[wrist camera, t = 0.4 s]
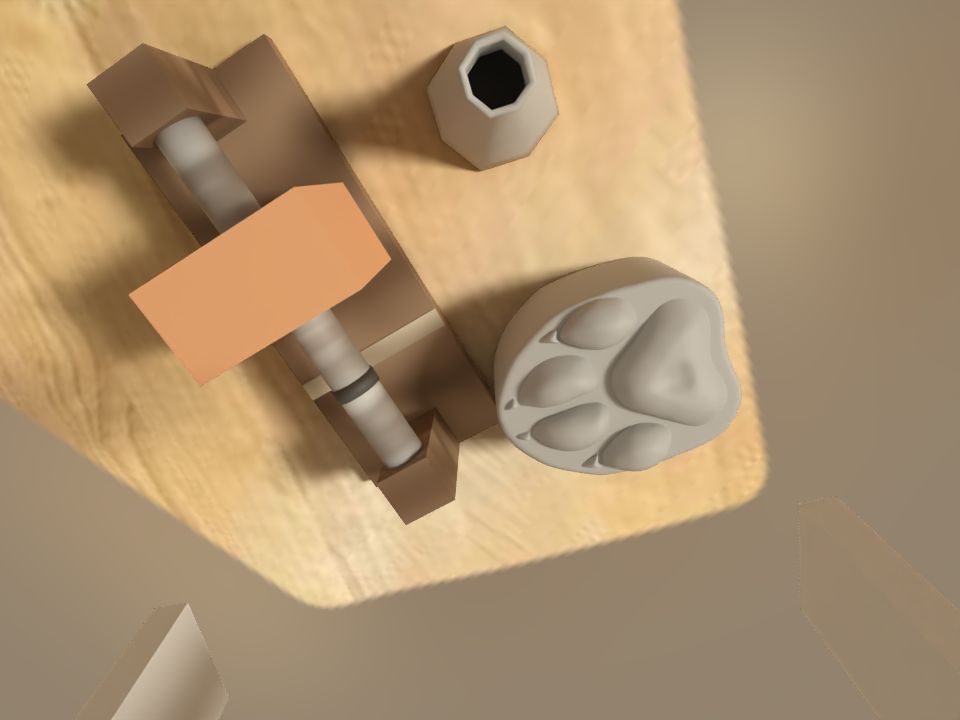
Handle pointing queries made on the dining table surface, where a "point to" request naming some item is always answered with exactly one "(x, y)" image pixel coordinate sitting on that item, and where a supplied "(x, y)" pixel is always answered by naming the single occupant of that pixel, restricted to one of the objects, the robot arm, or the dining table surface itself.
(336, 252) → the collar
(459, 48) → the flask
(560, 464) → the lumpy-topped squat cylinder
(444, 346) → the pipe stand
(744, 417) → the dining table surface
